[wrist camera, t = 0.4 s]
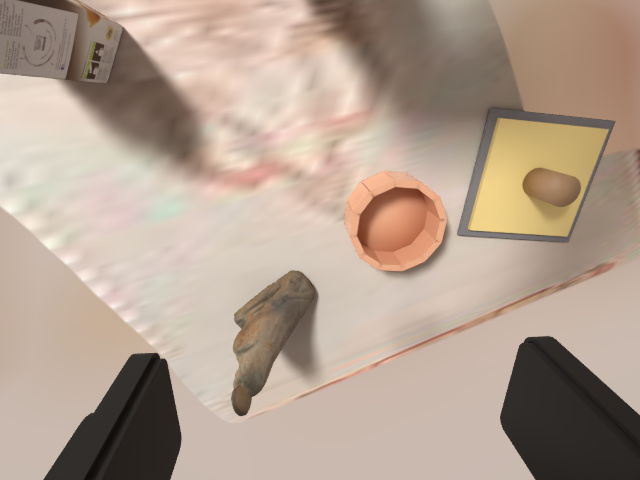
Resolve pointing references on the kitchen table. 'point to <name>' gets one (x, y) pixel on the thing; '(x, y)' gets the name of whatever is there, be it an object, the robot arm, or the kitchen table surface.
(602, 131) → the sheet
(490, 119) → the mat
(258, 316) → the worn brown figurine
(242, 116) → the kitchen table surface
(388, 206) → the bowl
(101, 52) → the coffee box
